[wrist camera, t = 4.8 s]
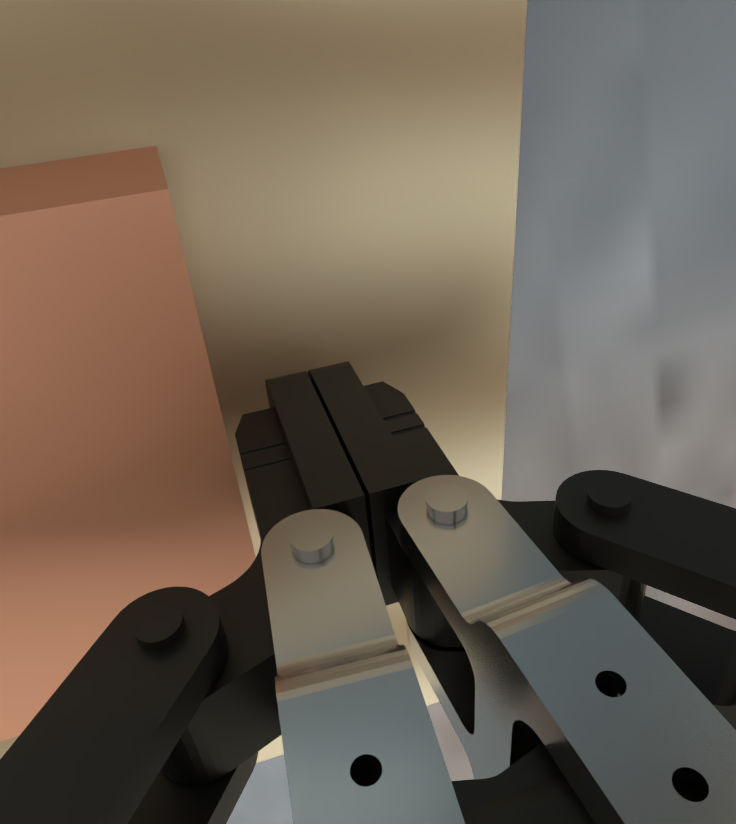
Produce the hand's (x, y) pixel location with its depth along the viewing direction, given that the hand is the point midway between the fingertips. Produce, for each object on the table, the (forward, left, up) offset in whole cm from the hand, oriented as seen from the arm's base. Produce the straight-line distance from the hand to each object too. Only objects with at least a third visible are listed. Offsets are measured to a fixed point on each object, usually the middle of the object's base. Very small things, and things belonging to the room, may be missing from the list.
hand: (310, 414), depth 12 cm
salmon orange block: (0, -5, -1) cm, 5 cm away
